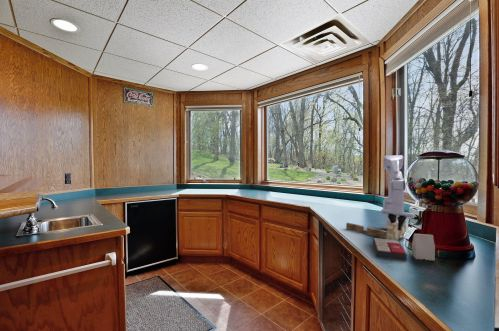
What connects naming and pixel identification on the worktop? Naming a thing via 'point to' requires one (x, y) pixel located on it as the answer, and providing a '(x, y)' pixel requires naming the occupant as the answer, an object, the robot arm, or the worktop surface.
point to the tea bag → (423, 247)
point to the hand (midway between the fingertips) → (397, 229)
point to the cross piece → (395, 231)
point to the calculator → (389, 249)
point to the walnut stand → (369, 230)
